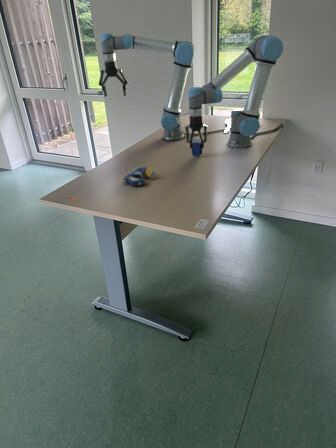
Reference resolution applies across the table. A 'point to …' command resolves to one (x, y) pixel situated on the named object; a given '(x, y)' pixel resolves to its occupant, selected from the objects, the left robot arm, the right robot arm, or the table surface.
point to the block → (196, 147)
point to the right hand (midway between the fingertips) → (197, 153)
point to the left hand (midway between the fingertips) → (115, 96)
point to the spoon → (228, 125)
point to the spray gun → (139, 176)
